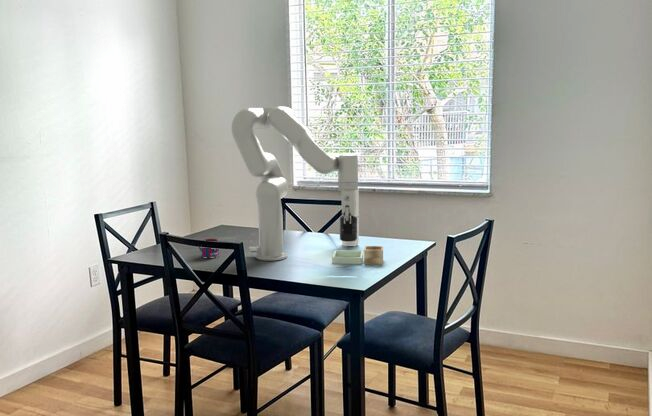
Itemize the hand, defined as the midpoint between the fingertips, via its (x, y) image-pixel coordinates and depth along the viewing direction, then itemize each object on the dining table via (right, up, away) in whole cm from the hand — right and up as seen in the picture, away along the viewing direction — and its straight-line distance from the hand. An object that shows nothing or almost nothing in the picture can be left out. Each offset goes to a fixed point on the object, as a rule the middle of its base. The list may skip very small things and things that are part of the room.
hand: (348, 231), depth 236 cm
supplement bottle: (0, -3, +1) cm, 3 cm away
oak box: (+10, -12, -1) cm, 15 cm away
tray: (0, -12, +2) cm, 12 cm away
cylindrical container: (+2, -7, +31) cm, 31 cm away
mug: (-56, -11, +12) cm, 59 cm away
